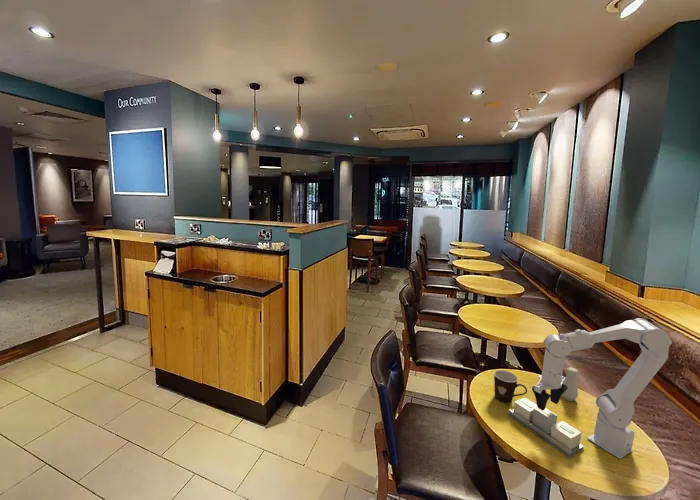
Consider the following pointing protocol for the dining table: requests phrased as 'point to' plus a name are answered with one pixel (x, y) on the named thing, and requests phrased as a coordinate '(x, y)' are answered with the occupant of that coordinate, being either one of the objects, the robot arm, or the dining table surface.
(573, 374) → the salt shaker
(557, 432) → the module
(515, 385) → the coffee mug
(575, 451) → the rail
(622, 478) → the dining table surface
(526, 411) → the block
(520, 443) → the dining table surface
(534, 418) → the block
